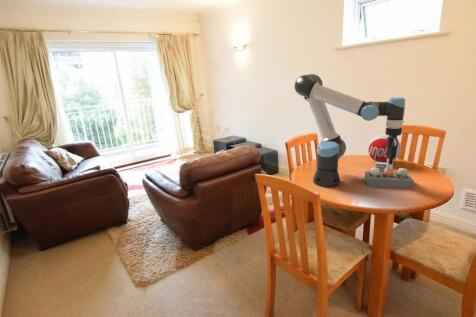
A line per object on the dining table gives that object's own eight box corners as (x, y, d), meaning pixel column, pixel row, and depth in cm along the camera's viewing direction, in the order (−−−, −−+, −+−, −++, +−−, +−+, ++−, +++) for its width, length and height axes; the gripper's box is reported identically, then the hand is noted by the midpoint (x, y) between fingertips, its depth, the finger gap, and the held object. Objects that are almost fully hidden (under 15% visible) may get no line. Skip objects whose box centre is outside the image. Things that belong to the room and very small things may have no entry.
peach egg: (384, 179, 148) (385, 170, 146) (382, 176, 152) (383, 167, 150) (393, 180, 147) (394, 170, 145) (391, 177, 151) (392, 168, 149)
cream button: (370, 178, 150) (371, 169, 148) (369, 176, 154) (370, 167, 152) (379, 179, 149) (380, 170, 147) (377, 176, 153) (378, 167, 151)
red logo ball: (363, 164, 182) (365, 136, 176) (371, 156, 196) (373, 130, 190) (395, 169, 169) (399, 139, 163) (401, 161, 184) (405, 132, 178)
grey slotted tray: (367, 186, 148) (368, 178, 147) (364, 178, 159) (365, 171, 157) (412, 188, 142) (414, 180, 140) (405, 180, 153) (407, 172, 151)
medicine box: (374, 177, 160) (375, 163, 157) (374, 174, 164) (375, 161, 161) (389, 178, 156) (390, 164, 154) (388, 176, 160) (390, 162, 157)
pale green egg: (398, 180, 146) (399, 170, 144) (396, 177, 150) (397, 168, 148) (407, 180, 145) (408, 171, 143) (405, 177, 149) (406, 168, 147)
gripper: (405, 129, 134) (400, 173, 141) (398, 124, 146) (393, 165, 153) (389, 129, 136) (384, 172, 143) (383, 125, 148) (379, 164, 155)
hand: (389, 168), depth 148 cm, fingers closed
